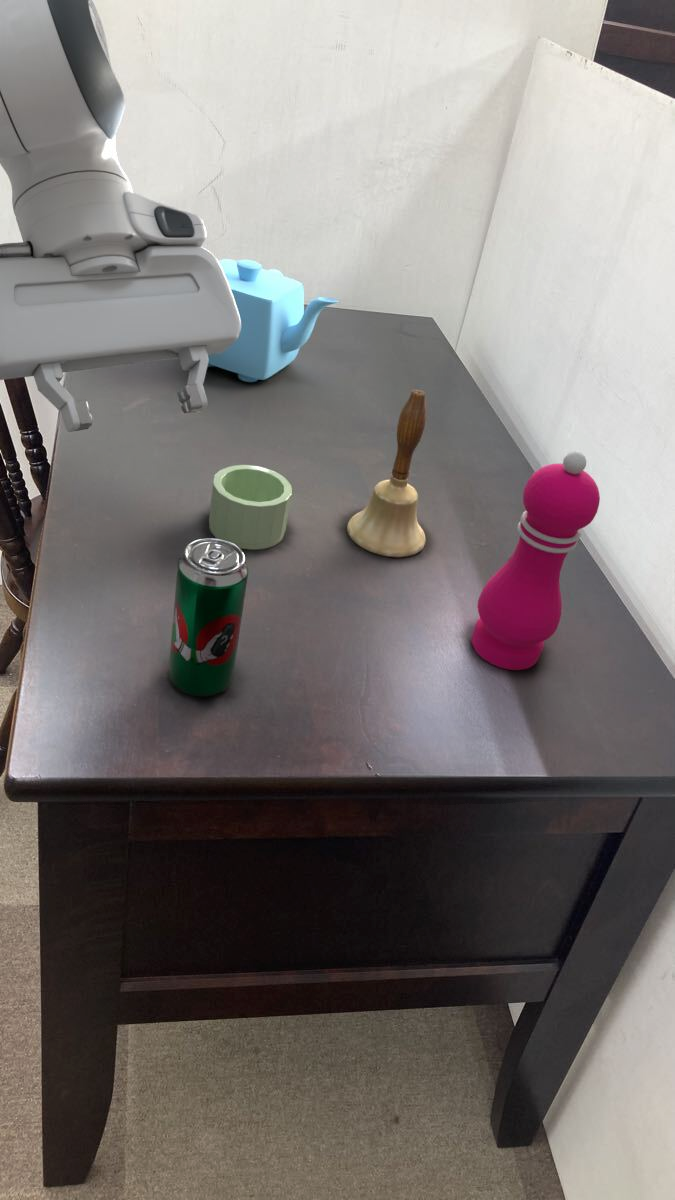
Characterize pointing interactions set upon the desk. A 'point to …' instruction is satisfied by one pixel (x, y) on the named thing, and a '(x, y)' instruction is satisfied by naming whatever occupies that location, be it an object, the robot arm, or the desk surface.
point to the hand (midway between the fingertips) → (140, 419)
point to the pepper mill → (535, 566)
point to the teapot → (266, 320)
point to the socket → (249, 506)
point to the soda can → (207, 616)
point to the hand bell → (395, 495)
